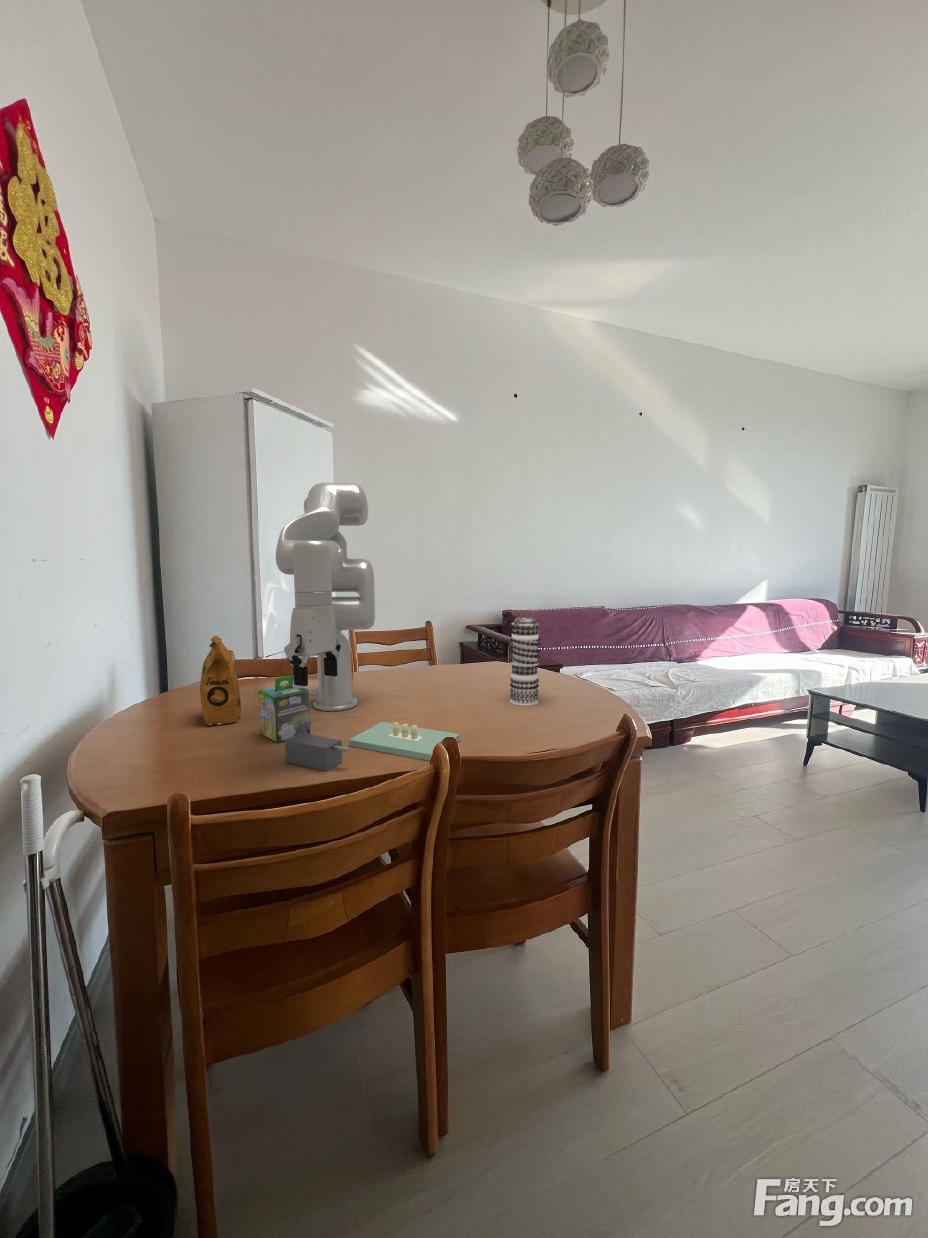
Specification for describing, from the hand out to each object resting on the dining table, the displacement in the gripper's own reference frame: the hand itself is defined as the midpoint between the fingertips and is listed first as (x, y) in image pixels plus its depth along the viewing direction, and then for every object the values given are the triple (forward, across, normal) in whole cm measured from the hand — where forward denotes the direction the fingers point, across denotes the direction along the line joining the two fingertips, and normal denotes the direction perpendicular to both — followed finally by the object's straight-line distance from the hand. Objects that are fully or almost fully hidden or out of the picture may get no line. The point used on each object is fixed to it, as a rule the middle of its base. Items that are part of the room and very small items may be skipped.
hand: (316, 680), depth 115 cm
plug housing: (+18, +1, +1) cm, 18 cm away
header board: (+18, -17, +12) cm, 27 cm away
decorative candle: (+17, -61, +27) cm, 69 cm away
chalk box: (+18, -10, -18) cm, 28 cm away
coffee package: (+17, -12, -42) cm, 47 cm away
